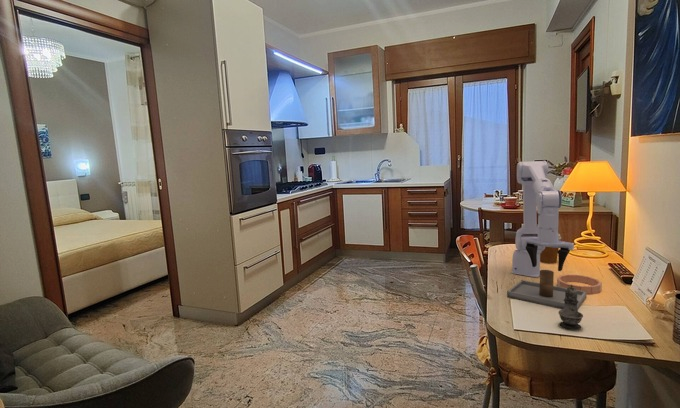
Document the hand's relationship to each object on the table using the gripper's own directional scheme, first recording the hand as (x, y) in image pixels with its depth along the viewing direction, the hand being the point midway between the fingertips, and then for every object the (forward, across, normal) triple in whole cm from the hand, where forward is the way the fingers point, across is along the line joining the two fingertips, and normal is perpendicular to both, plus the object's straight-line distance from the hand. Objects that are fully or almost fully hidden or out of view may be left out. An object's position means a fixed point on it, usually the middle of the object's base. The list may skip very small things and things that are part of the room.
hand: (547, 268), depth 125 cm
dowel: (+9, 0, 0) cm, 9 cm away
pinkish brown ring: (+10, +6, +16) cm, 20 cm away
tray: (+10, 0, 0) cm, 10 cm away
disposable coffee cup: (+10, -11, +43) cm, 45 cm away
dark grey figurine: (+10, +11, -18) cm, 24 cm away
